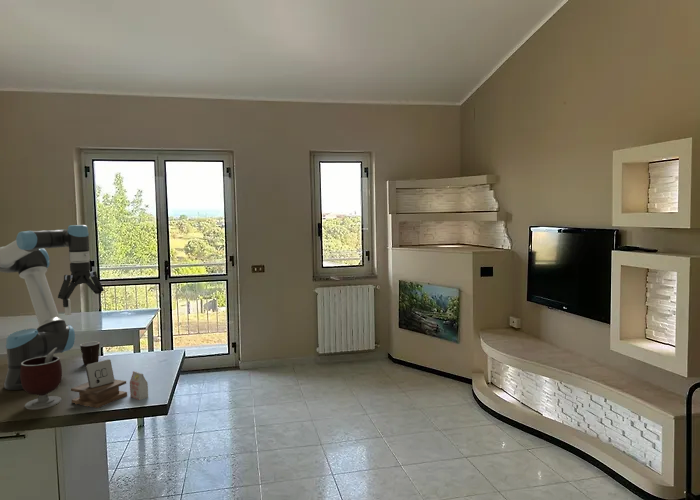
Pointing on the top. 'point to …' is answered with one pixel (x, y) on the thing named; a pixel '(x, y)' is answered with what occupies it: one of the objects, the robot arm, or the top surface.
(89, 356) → the coffee mug
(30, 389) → the mate gourd
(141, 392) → the milk carton
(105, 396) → the walnut stand
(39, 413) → the top surface
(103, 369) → the electrical switch
